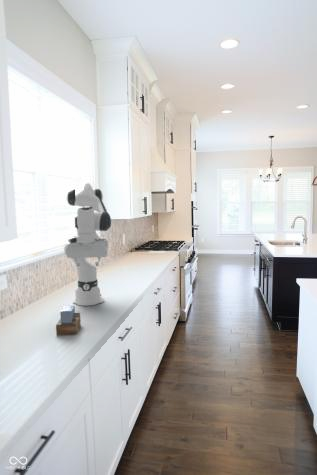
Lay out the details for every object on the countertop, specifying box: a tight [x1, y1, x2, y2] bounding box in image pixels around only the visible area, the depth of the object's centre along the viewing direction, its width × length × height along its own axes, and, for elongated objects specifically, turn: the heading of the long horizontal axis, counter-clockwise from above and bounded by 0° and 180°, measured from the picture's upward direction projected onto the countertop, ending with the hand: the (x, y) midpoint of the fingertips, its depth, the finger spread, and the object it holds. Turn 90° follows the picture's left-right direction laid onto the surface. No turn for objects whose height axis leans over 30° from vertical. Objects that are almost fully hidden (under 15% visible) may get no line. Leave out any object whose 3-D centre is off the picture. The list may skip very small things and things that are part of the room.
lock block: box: [59, 305, 76, 324], centre depth 158 cm, size 8×5×6 cm, turn 4°
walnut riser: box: [55, 311, 82, 336], centre depth 160 cm, size 12×9×7 cm
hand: (87, 266), depth 168 cm, fingers open, 8 cm apart
